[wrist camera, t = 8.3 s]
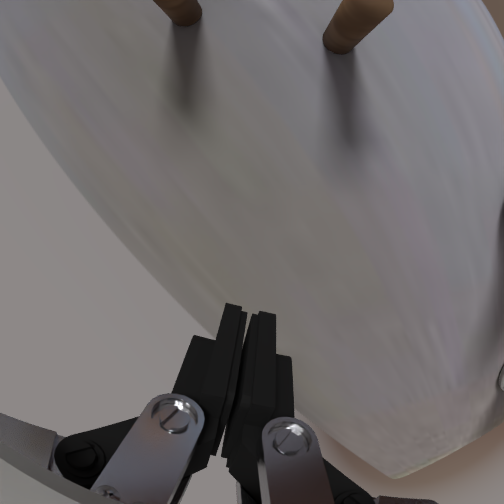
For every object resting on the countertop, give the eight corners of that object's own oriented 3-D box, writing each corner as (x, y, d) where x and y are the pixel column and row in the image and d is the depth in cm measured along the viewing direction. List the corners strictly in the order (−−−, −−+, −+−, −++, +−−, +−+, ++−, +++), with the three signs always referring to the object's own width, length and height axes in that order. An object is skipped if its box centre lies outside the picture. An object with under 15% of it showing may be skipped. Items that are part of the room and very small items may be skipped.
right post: (355, 32, 19) (395, -9, 10) (350, 58, 20) (391, 23, 11) (325, 23, 19) (352, -26, 10) (319, 48, 20) (346, 7, 11)
